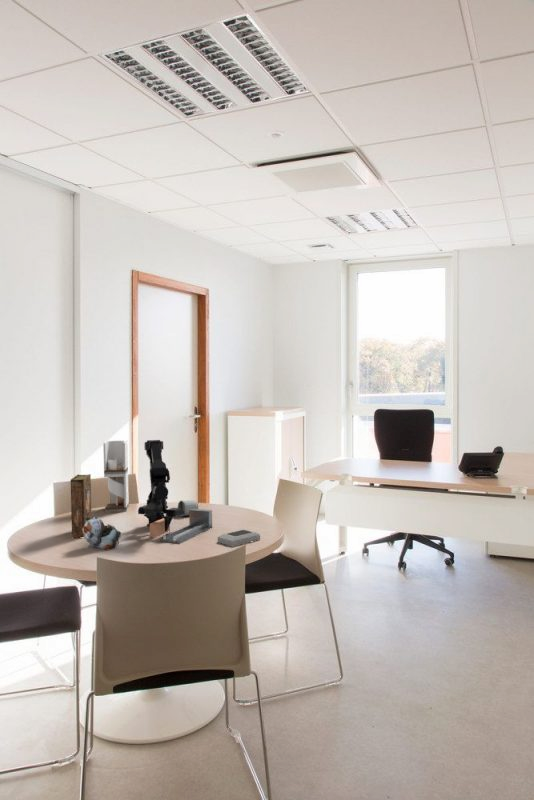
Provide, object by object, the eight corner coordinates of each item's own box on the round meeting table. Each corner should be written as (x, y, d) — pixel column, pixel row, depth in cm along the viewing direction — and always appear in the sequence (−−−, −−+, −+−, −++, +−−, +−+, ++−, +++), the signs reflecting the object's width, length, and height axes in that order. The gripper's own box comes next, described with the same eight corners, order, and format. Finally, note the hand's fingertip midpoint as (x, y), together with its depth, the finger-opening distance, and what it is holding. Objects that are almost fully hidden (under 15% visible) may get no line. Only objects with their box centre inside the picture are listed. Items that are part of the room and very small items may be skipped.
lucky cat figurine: (116, 550, 248) (98, 522, 244) (90, 561, 250) (72, 533, 246) (125, 530, 262) (108, 503, 258) (100, 541, 264) (83, 514, 260)
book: (84, 538, 268) (83, 479, 267) (71, 538, 267) (69, 480, 266) (91, 528, 284) (90, 473, 283) (79, 529, 284) (78, 474, 283)
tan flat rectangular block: (149, 537, 268) (149, 523, 268) (165, 531, 279) (164, 517, 279) (154, 538, 267) (154, 524, 267) (169, 531, 278) (169, 518, 278)
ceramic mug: (199, 515, 309) (199, 499, 309) (185, 517, 304) (184, 501, 304) (188, 512, 318) (188, 496, 317) (174, 514, 313) (173, 498, 312)
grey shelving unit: (108, 507, 330) (106, 440, 329) (128, 506, 331) (127, 440, 330) (104, 512, 319) (103, 443, 317) (126, 511, 320) (124, 442, 319)
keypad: (217, 534, 258) (244, 528, 269) (217, 543, 259) (245, 536, 269) (232, 538, 252) (260, 531, 262) (232, 547, 252) (260, 540, 262)
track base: (159, 541, 261) (158, 522, 261) (192, 525, 287) (192, 508, 287) (180, 543, 257) (179, 524, 257) (212, 527, 283) (212, 510, 283)
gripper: (130, 497, 268) (131, 533, 269) (167, 499, 261) (168, 537, 262) (145, 492, 279) (145, 527, 279) (181, 495, 271) (182, 530, 272)
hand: (159, 530), depth 273 cm, fingers open, 6 cm apart
